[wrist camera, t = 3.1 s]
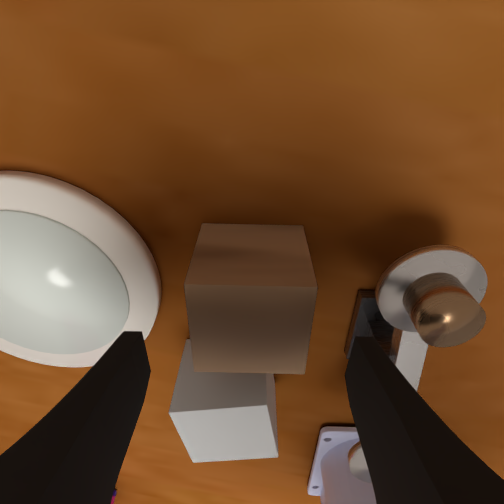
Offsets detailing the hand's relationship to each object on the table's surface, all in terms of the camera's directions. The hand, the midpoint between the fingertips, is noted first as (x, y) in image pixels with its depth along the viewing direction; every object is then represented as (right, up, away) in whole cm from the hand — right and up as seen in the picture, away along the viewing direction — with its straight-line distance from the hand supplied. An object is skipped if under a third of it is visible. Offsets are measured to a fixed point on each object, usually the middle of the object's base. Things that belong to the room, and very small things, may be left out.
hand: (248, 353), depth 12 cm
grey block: (-1, -3, +8) cm, 9 cm away
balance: (+7, 0, +6) cm, 10 cm away
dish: (-10, +2, +5) cm, 11 cm away
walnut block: (0, +3, +5) cm, 6 cm away
